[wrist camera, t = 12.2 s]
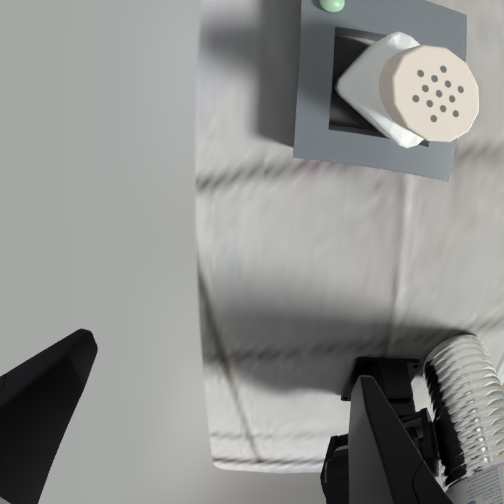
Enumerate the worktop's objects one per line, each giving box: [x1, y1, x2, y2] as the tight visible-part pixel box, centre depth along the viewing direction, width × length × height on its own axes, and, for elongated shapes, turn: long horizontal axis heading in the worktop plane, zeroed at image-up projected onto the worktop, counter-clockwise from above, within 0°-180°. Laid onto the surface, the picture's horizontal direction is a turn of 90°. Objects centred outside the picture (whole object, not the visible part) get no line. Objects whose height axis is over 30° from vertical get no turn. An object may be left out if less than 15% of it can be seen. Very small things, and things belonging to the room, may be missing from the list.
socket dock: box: [293, 0, 467, 182], centre depth 14 cm, size 10×9×3 cm
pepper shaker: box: [334, 31, 479, 148], centre depth 12 cm, size 4×4×10 cm
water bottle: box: [423, 334, 504, 504], centre depth 14 cm, size 7×7×25 cm
